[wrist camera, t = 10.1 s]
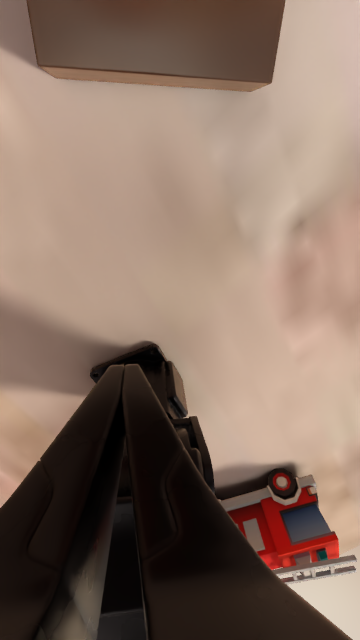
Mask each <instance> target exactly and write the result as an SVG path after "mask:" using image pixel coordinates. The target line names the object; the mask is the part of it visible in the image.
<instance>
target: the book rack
mask: <svg viewBox="0 0 360 640" xmlns="http://www.w3.org/2000/svg"><path fill="white" fill-rule="evenodd" d="M27 6H28V12H29V18H30V24H31V29H32V35H33V41H34V47H35V53H36V59H37V64H38V66H39V67H41V68H42V69H43V70H45V71H46V72H48V73H49V74H51V75H52V76H54V77H55V78H59V79H74V80H88V81H102V82H117V83H131V84H145V85H160V86H174V87H189V88H203V89H217V90H232V91H246V92H251V91H254V90H256V89H258V88H261V87H263V86H266V85H268V84H271V83H272V78H273V72H274V66H275V60H276V54H277V48H278V42H279V36H280V30H281V24H282V18H283V12H284V6H285V0H27Z"/></svg>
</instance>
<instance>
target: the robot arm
mask: <svg viewBox="0 0 360 640" xmlns="http://www.w3.org/2000/svg"><path fill="white" fill-rule="evenodd" d="M153 349H155V351H151V350H153ZM95 373H98V374H95ZM90 377H91V378H92V379H93V380H94V382H95V383H96V385H95V386H94V388H93V389H92V390H91V392H90V393H89V394H88V396H87V397H86V398H85V400H84V401H83V402H82V404H81V405H80V406H79V408H78V409H77V410H76V412H75V413H74V414H73V416H72V417H71V418H70V420H69V421H68V422H67V424H66V425H65V426H64V428H63V429H62V430H61V432H60V433H59V434H58V436H57V437H56V438H55V440H54V441H53V442H52V444H51V445H50V446H49V448H48V449H47V450H46V451H45V453H44V454H43V455H42V457H41V458H40V460H41V461H38V462H37V463H36V465H35V466H34V467H33V469H32V470H31V471H30V473H29V474H28V475H27V476H26V478H25V479H24V480H23V482H22V483H21V484H20V485H19V487H18V488H17V489H16V490H15V492H14V493H13V494H12V495H11V497H10V498H9V499H8V500H7V501H6V502H5V504H4V505H3V506H2V507H1V508H0V640H352V639H351V638H350V637H349V636H348V635H346V634H345V633H344V632H343V631H342V630H340V629H339V628H338V627H337V626H336V625H334V624H333V623H332V622H331V621H329V620H328V619H327V618H326V617H325V616H323V615H322V614H321V613H320V612H319V611H317V610H316V609H315V608H314V607H313V606H311V605H310V604H309V603H308V602H307V601H305V600H304V599H303V598H302V597H301V596H299V595H298V594H297V593H296V592H295V591H293V590H292V589H291V588H290V587H288V586H287V585H286V584H285V583H284V582H283V581H282V580H281V579H280V578H278V576H277V575H276V574H275V573H274V572H273V571H272V570H271V569H270V568H269V567H268V566H267V564H266V563H265V562H264V561H263V560H262V558H261V557H260V556H259V555H258V553H257V552H256V551H255V550H254V548H253V547H252V546H251V544H250V543H249V541H248V540H247V539H246V537H245V536H244V535H243V533H242V532H241V531H240V529H239V528H238V527H237V525H236V524H235V522H234V521H233V520H232V518H231V517H230V516H229V514H228V513H227V512H226V510H225V509H224V507H223V506H222V505H221V503H220V502H219V501H218V499H217V498H216V496H215V487H214V477H213V469H212V464H211V459H210V455H209V452H208V449H207V446H206V443H205V440H204V437H203V434H202V431H201V428H200V425H199V422H198V419H197V416H192V417H189V418H183V417H186V416H187V414H188V410H187V404H186V399H185V393H184V387H183V381H182V378H181V376H180V375H179V373H178V371H177V370H176V368H175V366H174V365H173V363H172V362H171V361H167V360H166V358H165V356H164V355H163V353H162V351H161V350H160V348H159V346H158V345H156V344H152V345H149V346H146V347H144V348H141V349H139V350H137V351H134V352H132V353H129V354H127V355H124V356H122V357H120V358H117V359H115V360H112V361H110V362H107V363H105V364H102V365H100V366H98V367H95V368H93V369H92V370H91V372H90Z"/></svg>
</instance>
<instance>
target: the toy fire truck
mask: <svg viewBox="0 0 360 640" xmlns="http://www.w3.org/2000/svg"><path fill="white" fill-rule="evenodd" d="M218 501H219V502H220V503H221V505H222V506H223V507H224V509H225V510H226V512H227V513H228V514H229V516H230V517H231V518H232V520H233V521H234V522H235V524H236V525H237V527H238V528H239V529H240V531H241V532H242V533H243V535H244V536H245V537H246V539H247V540H248V541H249V543H250V544H251V546H252V547H253V548H254V550H255V551H256V552H257V553H258V555H259V556H260V557H261V558H262V560H263V561H264V562H265V563H266V564H267V566H268V567H269V568H270V569H271V570H272V571H273V572H274V573H275V574H276V575H277V576H281V575H286V574H292V575H293V577H288V578H283V579H281V580H282V581H283V582H284V583H285V584H292V583H298V582H303V581H308V580H315V579H320V578H326V577H332V576H337V575H343V574H348V573H353V572H356V569H355V567H354V566H349V567H344V568H338V569H334V566H335V565H342V564H347V563H353V562H357V559H356V557H355V556H354V555H351V556H346V557H340V558H339V544H338V538H337V536H336V534H335V532H334V531H333V532H331V530H330V529H329V527H328V525H327V523H326V521H325V520H324V518H323V516H322V514H321V513H320V511H319V506H318V496H317V490H316V483H315V481H314V479H313V477H312V475H309V476H305V477H302V478H297V477H295V478H293V475H292V473H290V472H288V471H287V470H285V469H274V470H273V471H272V473H271V474H270V475H269V485H267V488H264V489H260V490H257V491H253V492H250V493H247V494H243V495H240V496H236V497H233V498H229V499H226V500H222V501H221V500H220V499H218ZM280 567H283V568H280ZM325 567H329V568H330V570H327V571H322V572H316V573H315V569H319V568H325ZM276 568H280V569H276ZM273 569H275V570H273ZM298 572H300V573H301V574H302V575H300V576H297V575H296V573H298Z"/></svg>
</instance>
